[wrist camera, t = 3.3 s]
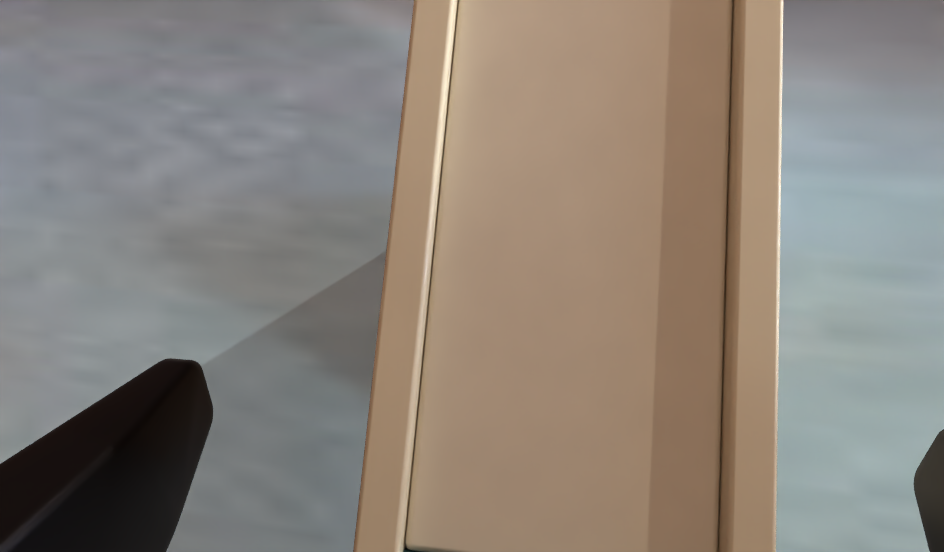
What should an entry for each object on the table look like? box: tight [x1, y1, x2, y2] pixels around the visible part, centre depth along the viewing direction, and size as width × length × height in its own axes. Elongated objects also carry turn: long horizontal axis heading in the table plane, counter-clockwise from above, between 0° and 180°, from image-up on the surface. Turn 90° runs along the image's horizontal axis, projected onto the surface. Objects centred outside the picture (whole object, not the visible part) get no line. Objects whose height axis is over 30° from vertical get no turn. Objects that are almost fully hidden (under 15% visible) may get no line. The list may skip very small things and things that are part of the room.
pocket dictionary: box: [353, 0, 783, 552], centre depth 12 cm, size 8×4×12 cm, turn 175°
